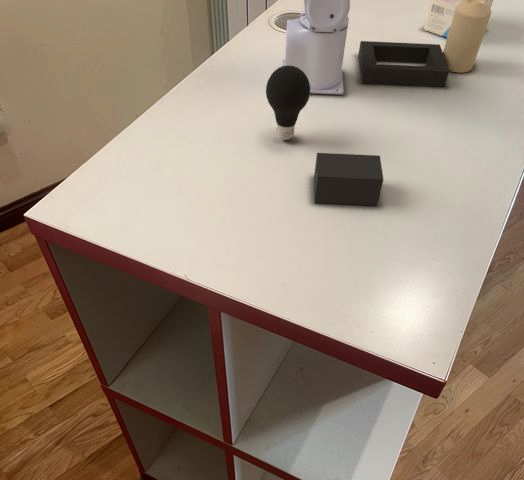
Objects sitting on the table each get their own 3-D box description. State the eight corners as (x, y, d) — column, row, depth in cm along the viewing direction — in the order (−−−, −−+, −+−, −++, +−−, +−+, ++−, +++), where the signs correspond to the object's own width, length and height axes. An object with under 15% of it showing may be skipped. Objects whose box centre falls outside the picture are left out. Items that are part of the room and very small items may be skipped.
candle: (473, 74, 86) (496, 7, 78) (439, 71, 87) (459, 4, 79) (471, 59, 89) (494, -7, 81) (439, 56, 90) (458, -10, 82)
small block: (314, 203, 65) (317, 176, 62) (313, 179, 68) (316, 152, 65) (376, 206, 65) (383, 179, 62) (373, 182, 68) (380, 155, 65)
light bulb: (281, 123, 76) (285, 52, 68) (313, 138, 74) (321, 67, 66) (256, 140, 73) (257, 68, 65) (288, 156, 71) (293, 84, 63)
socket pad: (361, 83, 84) (364, 67, 82) (358, 56, 89) (360, 40, 87) (444, 87, 84) (449, 71, 82) (435, 59, 89) (440, 44, 87)
